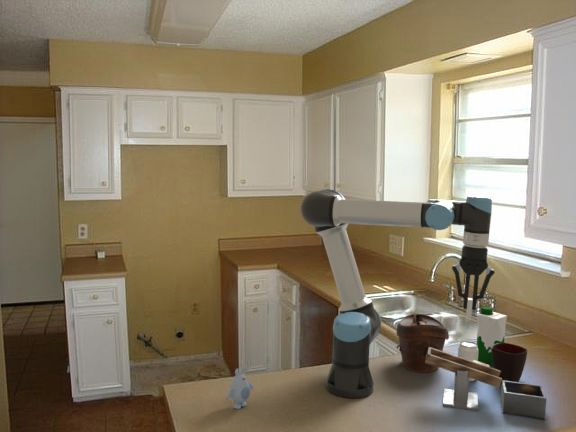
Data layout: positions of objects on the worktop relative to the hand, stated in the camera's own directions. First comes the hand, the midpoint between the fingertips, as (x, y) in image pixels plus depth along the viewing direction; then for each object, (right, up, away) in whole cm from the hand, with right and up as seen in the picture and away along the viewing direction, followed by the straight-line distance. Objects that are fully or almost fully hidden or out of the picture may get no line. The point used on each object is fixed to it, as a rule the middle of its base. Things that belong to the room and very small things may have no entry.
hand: (468, 319), depth 172 cm
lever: (-3, -14, -2) cm, 15 cm away
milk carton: (+17, -21, +27) cm, 38 cm away
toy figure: (-71, -24, -12) cm, 76 cm away
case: (-10, -21, +23) cm, 33 cm away
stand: (-4, -24, -5) cm, 25 cm away
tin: (+13, -25, -10) cm, 30 cm away
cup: (+18, -23, +11) cm, 31 cm away
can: (+4, -23, +13) cm, 26 cm away
